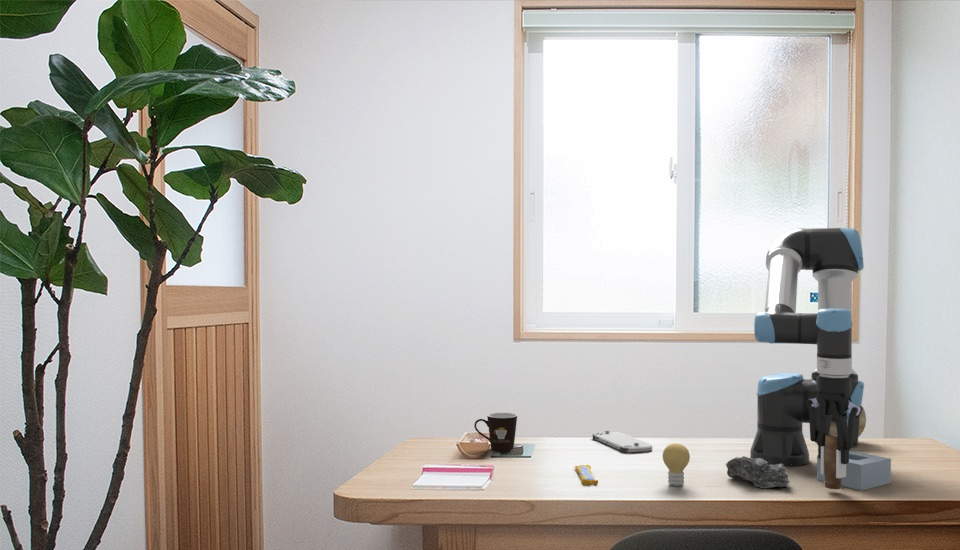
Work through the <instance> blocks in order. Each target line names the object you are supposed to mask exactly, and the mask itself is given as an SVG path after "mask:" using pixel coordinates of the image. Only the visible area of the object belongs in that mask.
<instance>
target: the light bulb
mask: <svg viewBox="0 0 960 550" xmlns="http://www.w3.org/2000/svg"><path fill="white" fill-rule="evenodd" d="M690 455H691V454H690V451H689V449H688V448H687V447H686V446H685V445H683V444H681V443H674V442H673V443H670V444H667V445H666V447H665V448H664V450H663V451H662V461H663V463H664V464H665V466H666V467H667V469H668V473H667V475H668V476H667V478H668V480H667V484H669V485H670V486H673V487H680V486H683V485H684V483H685V476H684V475H685V473H684V470H685V468H686V467H688V465H689V463H690V460H691V459H690Z"/></svg>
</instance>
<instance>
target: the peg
mask: <svg viewBox="0 0 960 550" xmlns="http://www.w3.org/2000/svg"><path fill="white" fill-rule="evenodd" d="M838 448H839V441H838V435H825V482H824V488H826V489H829V490H841V489H842V486H841V478H836V450H838Z"/></svg>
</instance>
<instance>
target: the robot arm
mask: <svg viewBox="0 0 960 550" xmlns="http://www.w3.org/2000/svg"><path fill="white" fill-rule="evenodd" d="M863 255H864V254H863V248H862V241H861V236H860V233H859V231H858V230H857V229H855V228H850V227H849V228H847V227H826V228H822V227H821V228H819V227H817V228H815V227H814V228H796V229H793V230H790V231H787V232H786V233H784V234H782V235H781V236H779V238H777V239H776V240H775V241H774V242H773V243H772V245H771V246H770V247H769V249H768V251H767V252H766V257H765V267H766V269H767V271H768V274H767V284H766V293H765V305H764V311H762V312H757V313H756V314H754V324H753V325H754V326H753V327H754V331H753V333H754V339H755V340H756V342H758V343H765V344H766V343H769V344H772V345H773V344H795V345H796V344H797V345H798V344H799V345H800V344H801V345H816V368H815V369H813V371H812V372H811V379H810V378H809V379H805V378H804V375H803V374H802V373H800V372H786V373H785V372H782V373H775V374H768V375H765V376H762V377H760V378H759V379H758V382H757V392H756V396H757V413H756V414H757V415H756V417H757V418H756V420H757V422H756V423H757V428H756V433H755V435H754V438H753V441H752V445H751V446H750V451H749V452H750V454H749V455H750V456H749V458H753V459H755V458H762V459H763V460H765V461H766V462H768V463H769V464H770V465H776V464H783V465H784V466H785V467H786V466H787V467H790V466H791V467H792V466H793V467H794V466H802V465H807V464H809V463H810V452H809V449H808V446H807V443H806V440H805V436H804V434H803V433H804V432H803V424H804V423H806V424H809V436H810V437H809V438H810V441H811V442H814V443H816V445H817V452H818V453H817V455H818V457H819V459H821V474H823V475H824V474H825V435H829V431H830V425H831V424H832V425H836V427H837V434H838V441H839V448H838V450H836V478H843V477H846V464H848V463H849V450H852V449H856V448H858V445H859V437H858V432H859V418H860V414H861V412H862V410H863V408H864V407H863V408H862V407H861V405H862V404H863V396H864V387H865V383H864V382H863V381H861V380H859V374H858V373H857V372H856V370H854V369H853V282H854V281H855V279H857V278H858V277H859V271H860V272H861V271H862V270H864V266H865V265H864V256H863ZM803 270H804V271H812V277H813V278H814V279H815V280H816V281H817V282H818V284H817V285H818V286H817V287H818V288H817V290H818V291H817V313H809V312H808V313H807V312H806V313H805V312H804V313H803V312H796V311H797V299H798V297H797V294H798V280H799V279H798V278H799V273H800V272H801V271H803ZM847 425H848V427H847Z"/></svg>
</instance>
